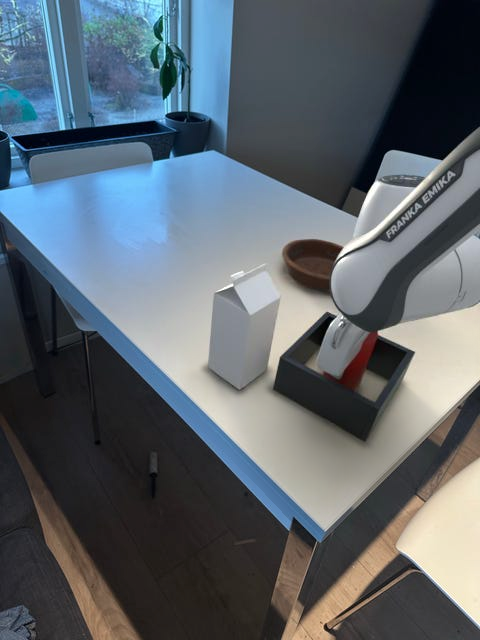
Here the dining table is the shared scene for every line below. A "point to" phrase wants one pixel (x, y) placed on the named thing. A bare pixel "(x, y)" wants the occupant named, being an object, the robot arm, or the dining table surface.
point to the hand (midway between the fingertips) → (346, 362)
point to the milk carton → (243, 326)
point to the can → (357, 364)
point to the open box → (331, 396)
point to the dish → (311, 261)
